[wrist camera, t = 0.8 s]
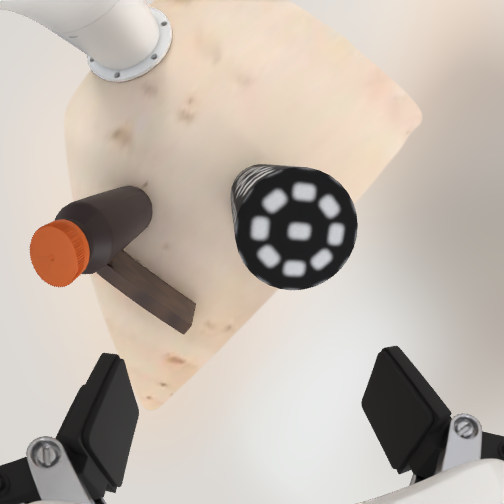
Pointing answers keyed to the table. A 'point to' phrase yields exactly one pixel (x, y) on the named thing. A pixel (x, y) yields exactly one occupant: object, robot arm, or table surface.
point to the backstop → (149, 291)
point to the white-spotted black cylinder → (292, 224)
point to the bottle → (89, 234)
